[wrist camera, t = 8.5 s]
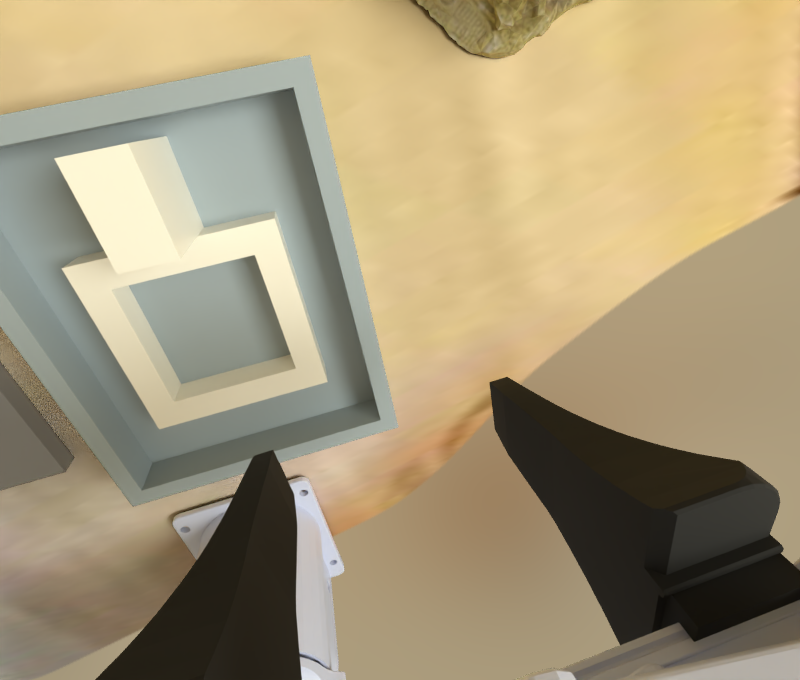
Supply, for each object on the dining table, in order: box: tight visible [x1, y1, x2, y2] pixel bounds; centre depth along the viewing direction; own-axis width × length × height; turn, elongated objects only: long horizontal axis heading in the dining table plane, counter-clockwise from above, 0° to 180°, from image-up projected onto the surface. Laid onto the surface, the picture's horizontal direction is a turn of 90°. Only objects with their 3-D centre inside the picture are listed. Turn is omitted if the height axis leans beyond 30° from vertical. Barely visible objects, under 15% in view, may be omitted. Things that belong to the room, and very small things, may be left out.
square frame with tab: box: [54, 136, 328, 429], centre depth 17 cm, size 12×8×4 cm
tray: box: [0, 55, 398, 506], centre depth 19 cm, size 17×14×2 cm
